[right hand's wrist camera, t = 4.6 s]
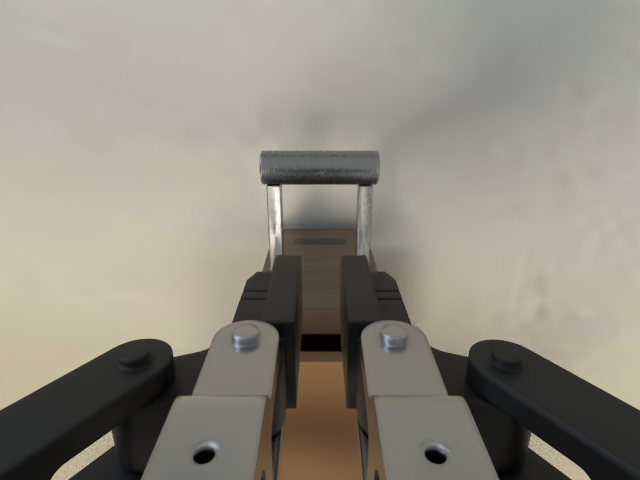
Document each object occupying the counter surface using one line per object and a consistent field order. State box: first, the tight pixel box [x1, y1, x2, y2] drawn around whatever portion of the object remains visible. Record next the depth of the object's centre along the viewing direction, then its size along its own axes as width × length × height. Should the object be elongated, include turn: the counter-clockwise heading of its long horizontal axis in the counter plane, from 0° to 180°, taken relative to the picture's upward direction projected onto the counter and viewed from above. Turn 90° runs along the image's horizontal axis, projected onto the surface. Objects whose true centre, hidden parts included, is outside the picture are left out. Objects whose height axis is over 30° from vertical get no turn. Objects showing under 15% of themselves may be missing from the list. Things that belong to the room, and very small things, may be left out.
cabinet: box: [264, 255, 377, 480], centre depth 26 cm, size 18×7×11 cm, turn 0°
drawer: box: [260, 151, 380, 352], centre depth 24 cm, size 23×6×10 cm, turn 0°
